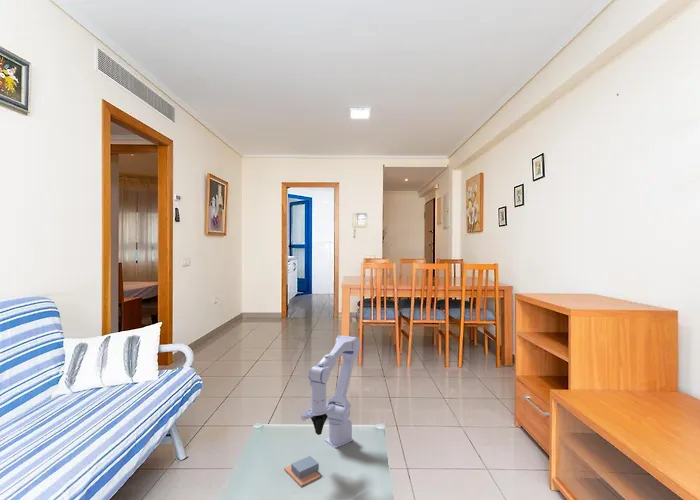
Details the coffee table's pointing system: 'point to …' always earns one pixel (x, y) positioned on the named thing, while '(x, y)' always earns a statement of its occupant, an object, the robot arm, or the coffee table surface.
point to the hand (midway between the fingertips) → (318, 433)
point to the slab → (304, 467)
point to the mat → (305, 479)
